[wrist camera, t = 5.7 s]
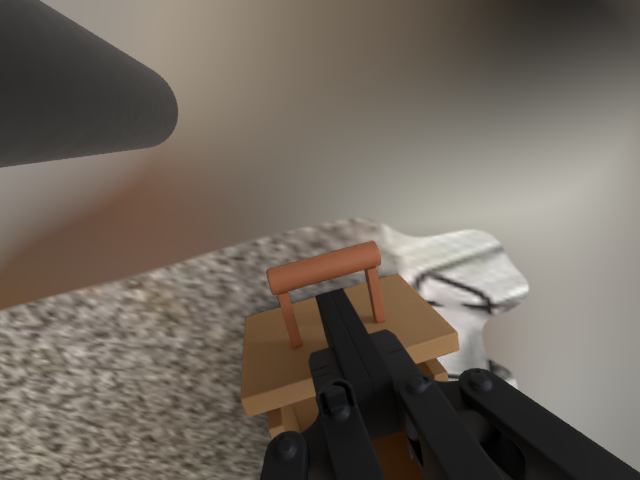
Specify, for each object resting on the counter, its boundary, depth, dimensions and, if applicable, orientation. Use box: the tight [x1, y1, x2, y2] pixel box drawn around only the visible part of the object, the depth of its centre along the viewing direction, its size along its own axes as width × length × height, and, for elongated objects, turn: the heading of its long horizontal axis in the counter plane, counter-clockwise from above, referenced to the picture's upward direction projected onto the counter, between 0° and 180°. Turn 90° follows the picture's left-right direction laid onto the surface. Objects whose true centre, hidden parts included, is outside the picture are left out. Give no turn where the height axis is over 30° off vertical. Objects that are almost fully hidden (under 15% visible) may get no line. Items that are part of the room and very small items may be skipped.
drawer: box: [241, 241, 459, 480], centre depth 22 cm, size 18×11×8 cm, turn 13°
